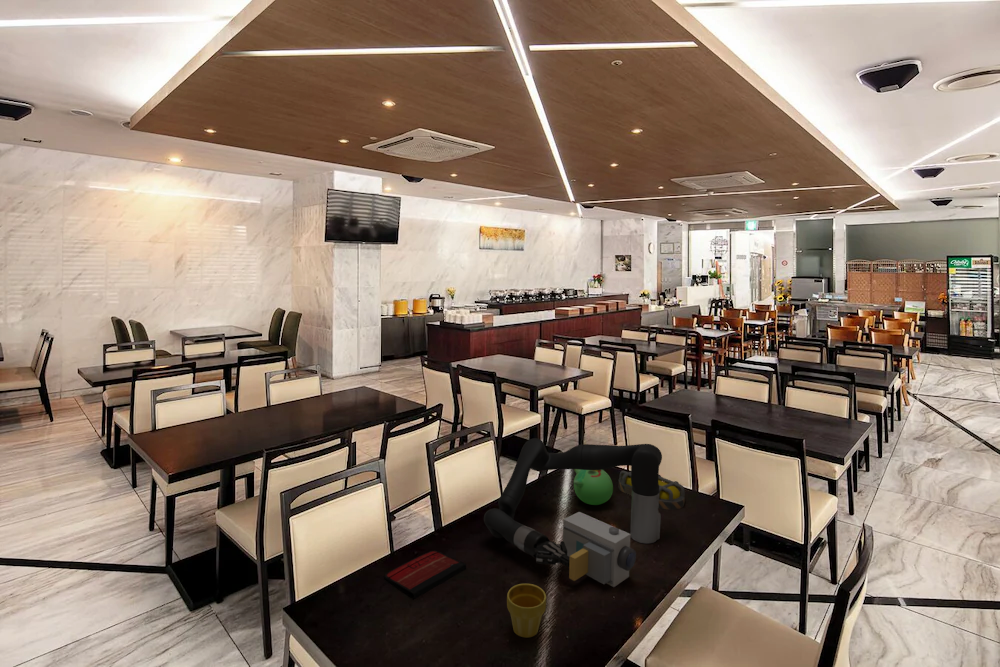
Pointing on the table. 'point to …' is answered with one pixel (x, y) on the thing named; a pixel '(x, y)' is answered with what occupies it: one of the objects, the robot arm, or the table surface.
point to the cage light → (667, 492)
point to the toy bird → (593, 486)
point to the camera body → (600, 543)
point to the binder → (424, 572)
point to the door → (591, 563)
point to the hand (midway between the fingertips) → (572, 563)
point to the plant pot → (526, 608)
